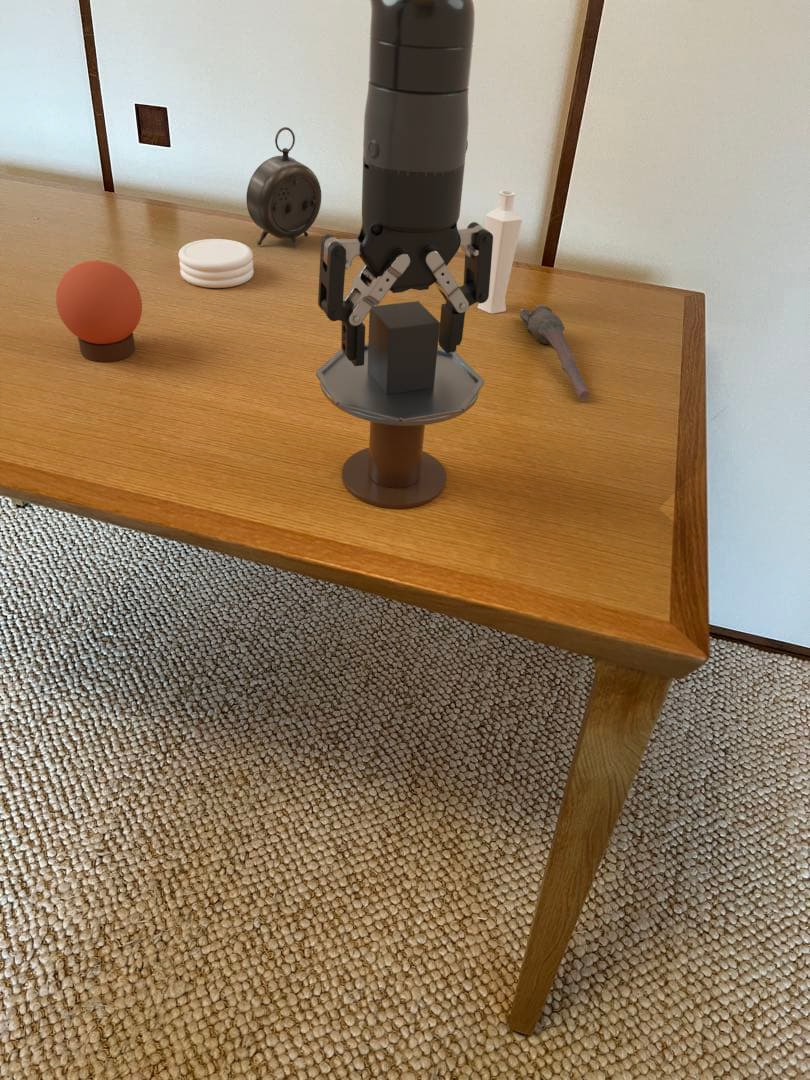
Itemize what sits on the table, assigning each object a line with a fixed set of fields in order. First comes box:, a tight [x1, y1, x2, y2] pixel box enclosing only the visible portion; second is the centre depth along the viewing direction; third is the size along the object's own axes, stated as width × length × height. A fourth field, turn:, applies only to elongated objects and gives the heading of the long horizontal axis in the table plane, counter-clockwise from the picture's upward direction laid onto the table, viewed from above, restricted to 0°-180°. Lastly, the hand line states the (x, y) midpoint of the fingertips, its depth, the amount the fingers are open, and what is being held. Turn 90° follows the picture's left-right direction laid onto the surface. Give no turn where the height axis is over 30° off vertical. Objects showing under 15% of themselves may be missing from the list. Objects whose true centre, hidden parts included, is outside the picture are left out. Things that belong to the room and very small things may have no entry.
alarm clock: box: [245, 126, 322, 248], centre depth 119 cm, size 11×5×16 cm, turn 130°
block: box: [367, 300, 440, 395], centre depth 69 cm, size 4×4×6 cm
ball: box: [55, 260, 143, 363], centre depth 91 cm, size 9×9×10 cm
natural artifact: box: [519, 304, 591, 403], centre depth 99 cm, size 4×23×4 cm, turn 5°
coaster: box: [178, 238, 255, 289], centre depth 112 cm, size 10×10×4 cm
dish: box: [315, 342, 485, 510], centre depth 74 cm, size 14×14×11 cm
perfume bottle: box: [476, 189, 523, 315], centre depth 106 cm, size 5×4×15 cm
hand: (401, 355), depth 70 cm, fingers open, 8 cm apart
